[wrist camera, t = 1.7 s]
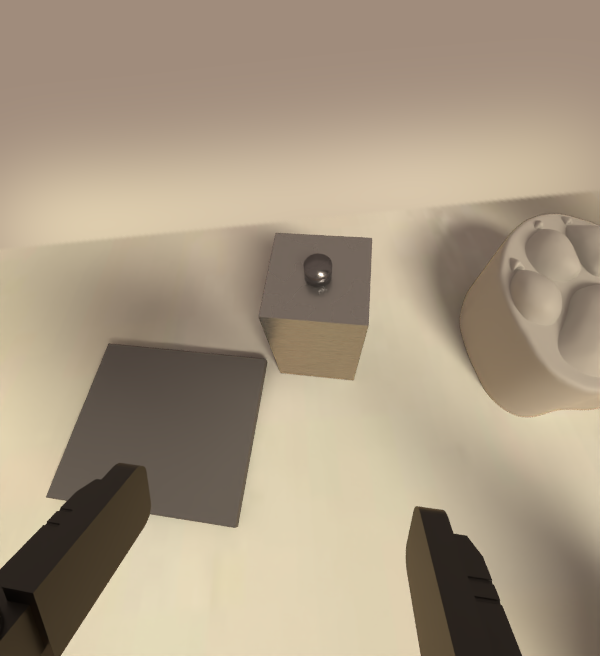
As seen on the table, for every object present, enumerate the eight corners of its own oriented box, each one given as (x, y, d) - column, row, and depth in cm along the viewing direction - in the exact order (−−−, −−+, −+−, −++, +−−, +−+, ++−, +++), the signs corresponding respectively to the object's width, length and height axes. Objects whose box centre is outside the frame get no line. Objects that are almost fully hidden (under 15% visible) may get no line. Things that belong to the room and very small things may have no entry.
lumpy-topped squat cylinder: (491, 422, 24) (569, 391, 17) (440, 278, 30) (480, 205, 22) (632, 405, 24) (777, 366, 16) (553, 263, 30) (634, 185, 22)
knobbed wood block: (357, 314, 29) (374, 226, 19) (353, 380, 26) (370, 317, 17) (290, 309, 30) (273, 221, 20) (280, 372, 27) (255, 307, 17)
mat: (267, 362, 28) (265, 358, 27) (237, 526, 22) (234, 527, 22) (113, 347, 29) (108, 343, 28) (54, 496, 24) (45, 497, 23)
